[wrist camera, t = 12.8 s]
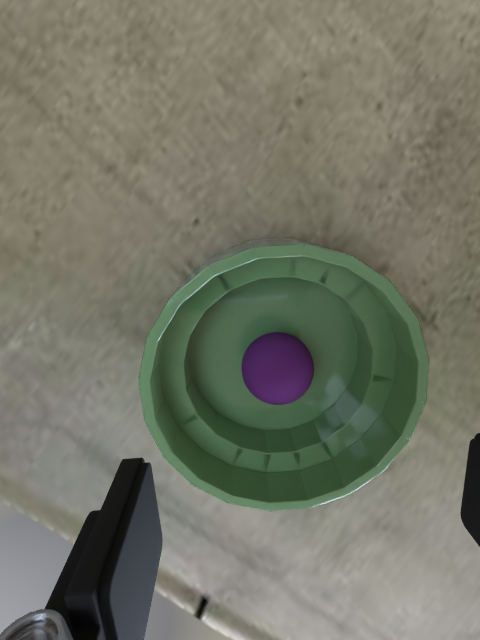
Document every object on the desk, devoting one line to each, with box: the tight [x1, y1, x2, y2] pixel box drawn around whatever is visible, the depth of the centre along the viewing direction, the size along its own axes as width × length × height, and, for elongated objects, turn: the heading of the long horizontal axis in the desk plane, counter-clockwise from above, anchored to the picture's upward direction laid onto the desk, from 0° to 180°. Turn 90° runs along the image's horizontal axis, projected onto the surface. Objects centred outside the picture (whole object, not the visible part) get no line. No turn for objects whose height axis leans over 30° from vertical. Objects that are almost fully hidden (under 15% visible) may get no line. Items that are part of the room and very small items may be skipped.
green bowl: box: [139, 238, 429, 511], centre depth 23 cm, size 15×15×6 cm
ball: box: [241, 332, 314, 405], centre depth 23 cm, size 4×4×4 cm
